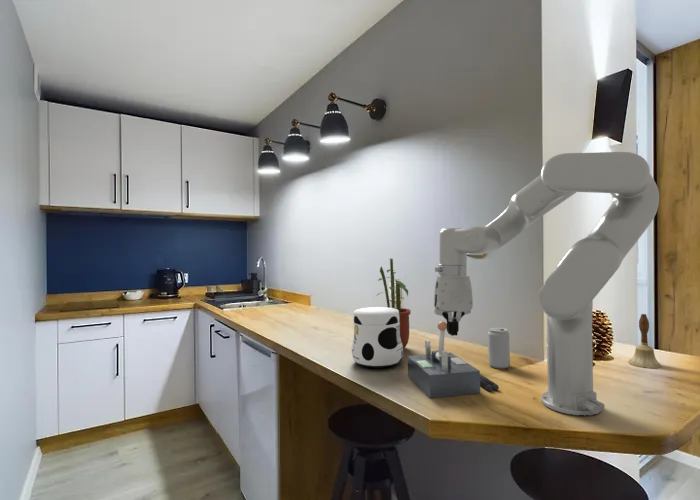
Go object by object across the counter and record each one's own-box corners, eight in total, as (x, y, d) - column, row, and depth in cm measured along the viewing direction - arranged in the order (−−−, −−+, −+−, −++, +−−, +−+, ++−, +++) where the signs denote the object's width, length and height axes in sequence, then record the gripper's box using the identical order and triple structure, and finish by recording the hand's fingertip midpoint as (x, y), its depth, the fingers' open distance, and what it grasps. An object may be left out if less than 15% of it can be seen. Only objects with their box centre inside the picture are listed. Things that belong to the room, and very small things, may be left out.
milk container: (344, 360, 135) (343, 309, 135) (389, 354, 141) (387, 305, 141) (364, 375, 119) (362, 317, 118) (413, 367, 125) (411, 312, 125)
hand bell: (667, 369, 116) (666, 316, 116) (636, 368, 118) (635, 316, 118) (652, 361, 124) (651, 311, 124) (623, 360, 126) (622, 311, 126)
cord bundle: (499, 390, 103) (499, 385, 103) (488, 392, 102) (488, 386, 102) (468, 370, 120) (468, 365, 120) (458, 371, 120) (458, 366, 120)
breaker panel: (480, 393, 102) (479, 351, 102) (430, 398, 99) (429, 356, 99) (451, 371, 119) (450, 336, 119) (407, 375, 117) (406, 339, 117)
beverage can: (512, 369, 120) (511, 331, 119) (490, 369, 121) (489, 331, 121) (507, 363, 126) (506, 327, 126) (487, 362, 127) (486, 326, 127)
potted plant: (411, 354, 139) (409, 258, 139) (369, 353, 142) (366, 259, 141) (411, 342, 157) (409, 256, 156) (373, 341, 159) (371, 257, 159)
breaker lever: (448, 363, 108) (449, 322, 108) (439, 363, 107) (441, 322, 107) (442, 359, 111) (443, 320, 111) (433, 359, 111) (435, 320, 111)
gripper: (433, 272, 105) (432, 339, 106) (483, 271, 108) (483, 336, 108) (423, 270, 113) (423, 332, 113) (471, 269, 115) (470, 330, 116)
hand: (452, 334), depth 111 cm, fingers closed
